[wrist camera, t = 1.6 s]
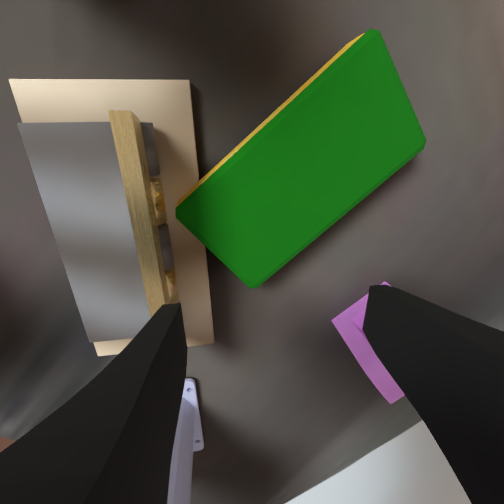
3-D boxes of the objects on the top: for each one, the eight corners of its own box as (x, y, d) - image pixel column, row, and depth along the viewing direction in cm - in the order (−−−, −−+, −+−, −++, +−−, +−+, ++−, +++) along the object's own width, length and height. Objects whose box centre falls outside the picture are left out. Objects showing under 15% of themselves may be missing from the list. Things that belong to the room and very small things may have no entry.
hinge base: (19, 82, 14) (-27, 68, 11) (190, 82, 15) (185, 70, 12) (102, 348, 21) (86, 378, 18) (214, 336, 22) (214, 363, 19)
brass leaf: (81, 110, 8) (148, 110, 9) (113, 122, 14) (153, 122, 15) (154, 410, 14) (192, 399, 15) (155, 331, 20) (183, 325, 20)
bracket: (330, 319, 23) (374, 387, 17) (384, 280, 22) (451, 336, 16) (394, 390, 28) (447, 463, 22) (440, 360, 27) (509, 428, 21)
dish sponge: (401, 144, 18) (430, 144, 16) (246, 275, 19) (253, 292, 17) (351, 39, 15) (378, 22, 13) (173, 203, 17) (170, 213, 14)
